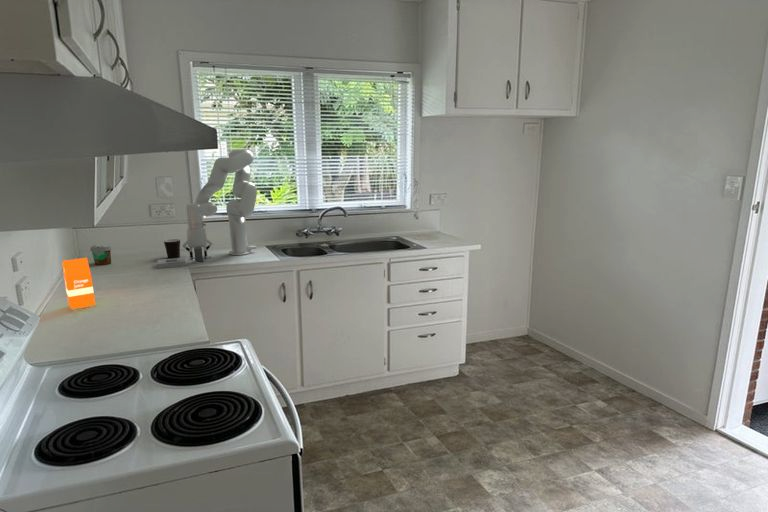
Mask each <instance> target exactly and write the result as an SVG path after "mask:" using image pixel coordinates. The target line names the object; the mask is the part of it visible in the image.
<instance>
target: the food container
mask: <svg viewBox="0 0 768 512" xmlns="http://www.w3.org/2000/svg"><path fill="white" fill-rule="evenodd" d="M89 248H90V249H89V252H91V255H92V257H93V262H94V265H95V266H108V265H111V264H112V256H111V255H112V253H111V251H112V249H111V248H112V247H111V246H110V245H108V246H96V244H94V245H91V246H90V247H89Z"/></svg>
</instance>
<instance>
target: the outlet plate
mask: <svg viewBox="0 0 768 512" xmlns="http://www.w3.org/2000/svg"><path fill="white" fill-rule="evenodd" d="M186 263H187V261H186V257H179V258H174V259H168V258H165V259H157V262H156V268H157V269H167V268H176V267H177V268H179V267H186V266H187V264H186ZM185 265H186V266H185ZM178 266H179V267H178Z"/></svg>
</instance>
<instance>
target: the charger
mask: <svg viewBox="0 0 768 512" xmlns="http://www.w3.org/2000/svg"><path fill="white" fill-rule="evenodd" d="M193 253H194V257H195V260H194V261H195V262H201V263H204V259H203V256H204V255H203V247H193Z"/></svg>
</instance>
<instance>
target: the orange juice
mask: <svg viewBox="0 0 768 512" xmlns="http://www.w3.org/2000/svg"><path fill="white" fill-rule="evenodd" d="M62 270H63V278H64V279H63V280H64V285H65V292H66V297H67V303H68V307H69V306H70V308H71V309H75V308H83V307H88V306H93V305H96V299H95V293H94V286H93V280H92V274H91V269H90V265H89V261H88V257H81V258H74V259H66V260H65V259H64V260H62ZM70 308H69V309H70Z"/></svg>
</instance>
